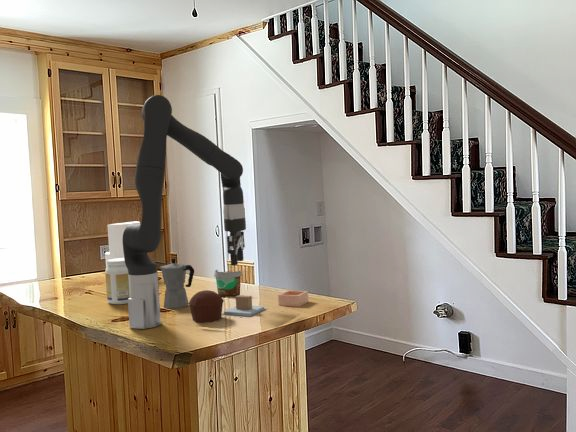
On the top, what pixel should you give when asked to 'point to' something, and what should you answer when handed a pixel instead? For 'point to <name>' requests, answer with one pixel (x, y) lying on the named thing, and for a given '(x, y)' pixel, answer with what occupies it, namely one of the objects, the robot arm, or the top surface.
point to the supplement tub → (117, 281)
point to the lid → (244, 307)
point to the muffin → (206, 306)
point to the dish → (293, 298)
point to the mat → (246, 316)
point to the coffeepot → (176, 284)
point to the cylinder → (116, 240)
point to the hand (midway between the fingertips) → (237, 262)
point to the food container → (228, 283)
